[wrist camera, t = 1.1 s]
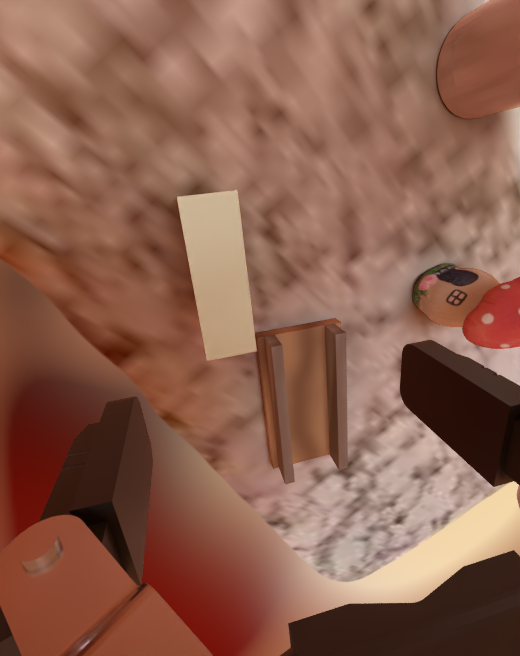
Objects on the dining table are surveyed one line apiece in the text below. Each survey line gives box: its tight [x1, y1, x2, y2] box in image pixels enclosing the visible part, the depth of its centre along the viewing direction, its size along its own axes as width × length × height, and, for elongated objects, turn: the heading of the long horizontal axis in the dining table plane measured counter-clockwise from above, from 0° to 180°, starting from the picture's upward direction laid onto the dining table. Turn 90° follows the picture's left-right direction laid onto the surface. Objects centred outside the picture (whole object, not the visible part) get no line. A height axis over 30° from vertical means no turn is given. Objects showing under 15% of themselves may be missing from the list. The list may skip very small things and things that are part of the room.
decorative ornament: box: [413, 264, 520, 349], centre depth 37 cm, size 9×7×15 cm
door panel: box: [177, 190, 257, 361], centre depth 30 cm, size 4×12×12 cm, turn 6°
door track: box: [255, 318, 348, 484], centre depth 42 cm, size 10×19×4 cm, turn 6°
